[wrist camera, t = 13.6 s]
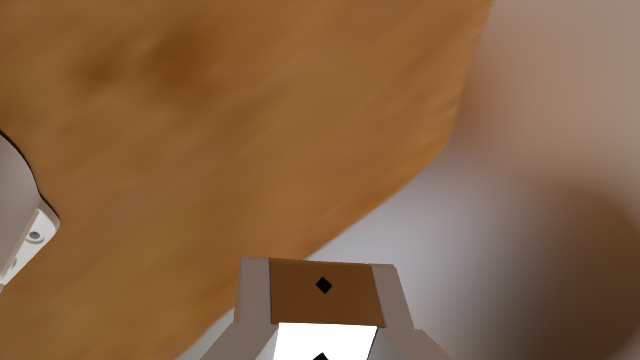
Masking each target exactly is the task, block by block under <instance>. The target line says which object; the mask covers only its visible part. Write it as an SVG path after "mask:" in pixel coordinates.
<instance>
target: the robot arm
mask: <svg viewBox="0 0 640 360" xmlns="http://www.w3.org/2000/svg"><path fill="white" fill-rule="evenodd" d="M59 226H60V221H59V219H58V217H57V216H56V214H55V213H54V212H53V211H52V209H51V208H50V207H49V206H48V205H47V204H46V203H45V202H44V201H43V200H42V198H41V197H40V195H39V192H38V190H37V187H36V184H35V181H34V178H33V175H32V173H31V171H30V169H29V167H28V165H27V164H26V162H25V161H24V159H23V158H22V156H21V155H20V154H19V153H18V151H17V150H16V149H15V148H14V147H13V146H12V145H11V144H10V143H9V142H8V141H7V140H6V139H5V138H3V137H2V136H1V135H0V292H1V291H2V289H3V287H4V286H5V285H6V284H7V283H8V282H9V281H10V280H11V279H12V278H13V277H14V276H15V275H16V274H17V272H18V271H19V270H20V269H21V268H22V267H23V266H24V265H25V264H26V263H27V262H28V261H29V260H30V259H31V258H32V257H33V256H34V255H35V254H36V253H37V252H38V251H39V250H40V249H41V248H42V247H43V246H44V245H45V244H46V243H47V242H48V241H49V240H50V239H51V238H52V237H53V236H54V234H55V233H56V231H57V230H58V228H59ZM33 231H34V232H37V233H39V234H37V233H34V232H33ZM200 360H454V359H453V358H452V357H451V356H450V355H449V354H448V353H447V352H446V351H445V350H443V349H442V348H441V347H440V346H439V345H438V344H437V343H436V342H435V341H434V340H433V339H432V338H430V337H429V336H428V335H427V334H426V333H425V332H424V331H423V330H417V329H414V325H413V322H412V318H411V316H410V312H409V309H408V306H407V302H406V299H405V296H404V292H403V289H402V286H401V283H400V279H399V276H398V273H397V270H396V268H395V267H394V265H391V264H362V263H342V262H321V261H306V260H294V259H281V258H262V257H250V256H242V257H241V260H240V268H239V276H238V284H237V292H236V300H235V311H234V321H233V323H231V324H230V325H229V326H228V328H227V329H226V330H225V331H224V332H223V333H222V335H221V336H220V337H219V338H218V339H217V340H216V342H215V343H214V344H213V345H212V346H211V347H210V349H209V350H208V351H207V352H206V353H205V354H204V356H203V357H202V358H201V359H200Z"/></svg>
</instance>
